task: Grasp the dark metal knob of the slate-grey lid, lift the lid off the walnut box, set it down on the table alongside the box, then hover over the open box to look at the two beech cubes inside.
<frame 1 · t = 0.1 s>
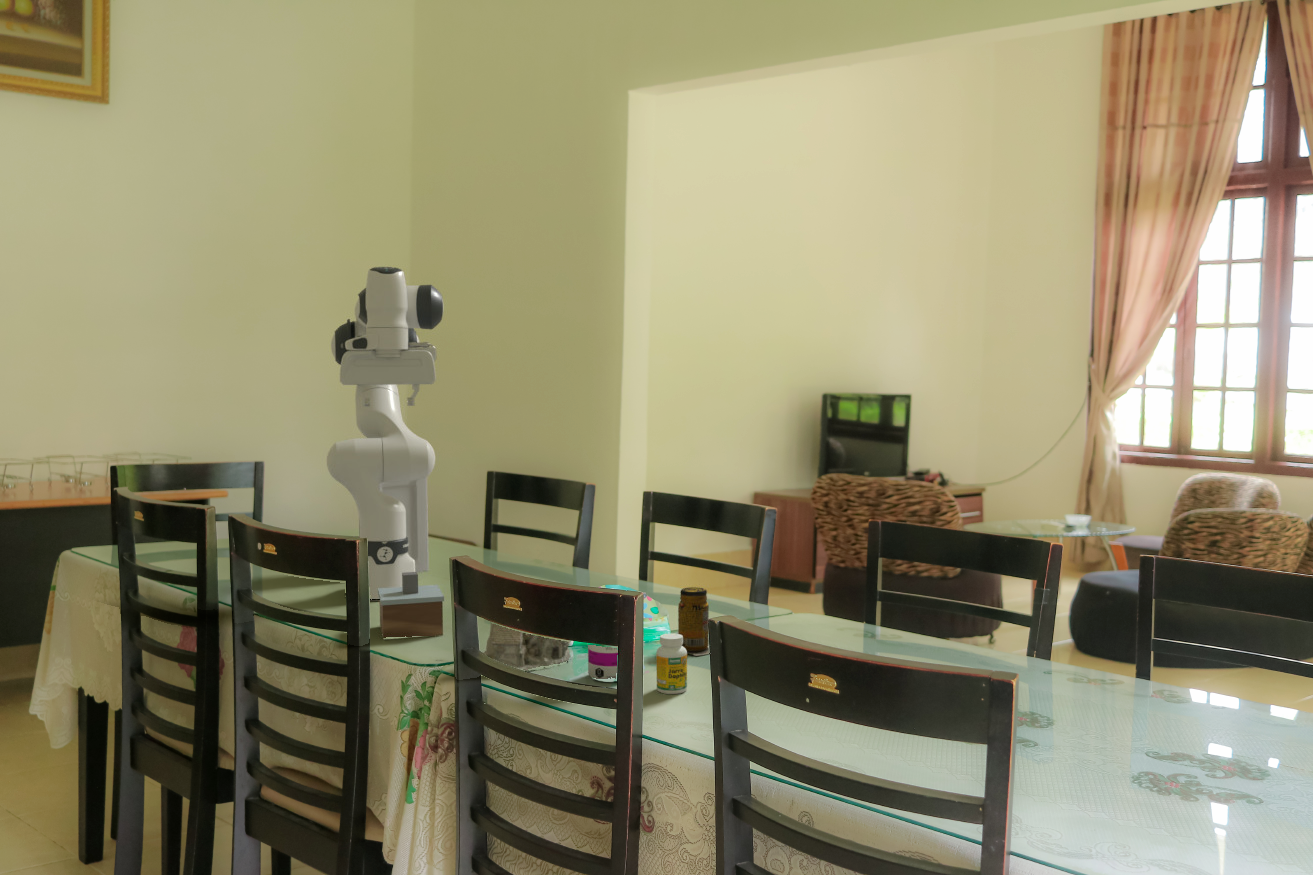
hand: (388, 406, 232), 48 cm above the table, fingers open, 8 cm apart
box: (411, 634, 226), on the table
cube b: (424, 632, 224), point 1 cm above the table, touching box
ceramic cottage: (525, 664, 204), on the table
condiment: (695, 650, 213), on the table
cube a: (397, 628, 227), point 1 cm above the table, touching box
supplement bottle: (671, 691, 186), on the table
lid: (410, 596, 225), point 8 cm above the table, touching box
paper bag: (385, 572, 295), on the table
supplement can: (610, 677, 194), on the table
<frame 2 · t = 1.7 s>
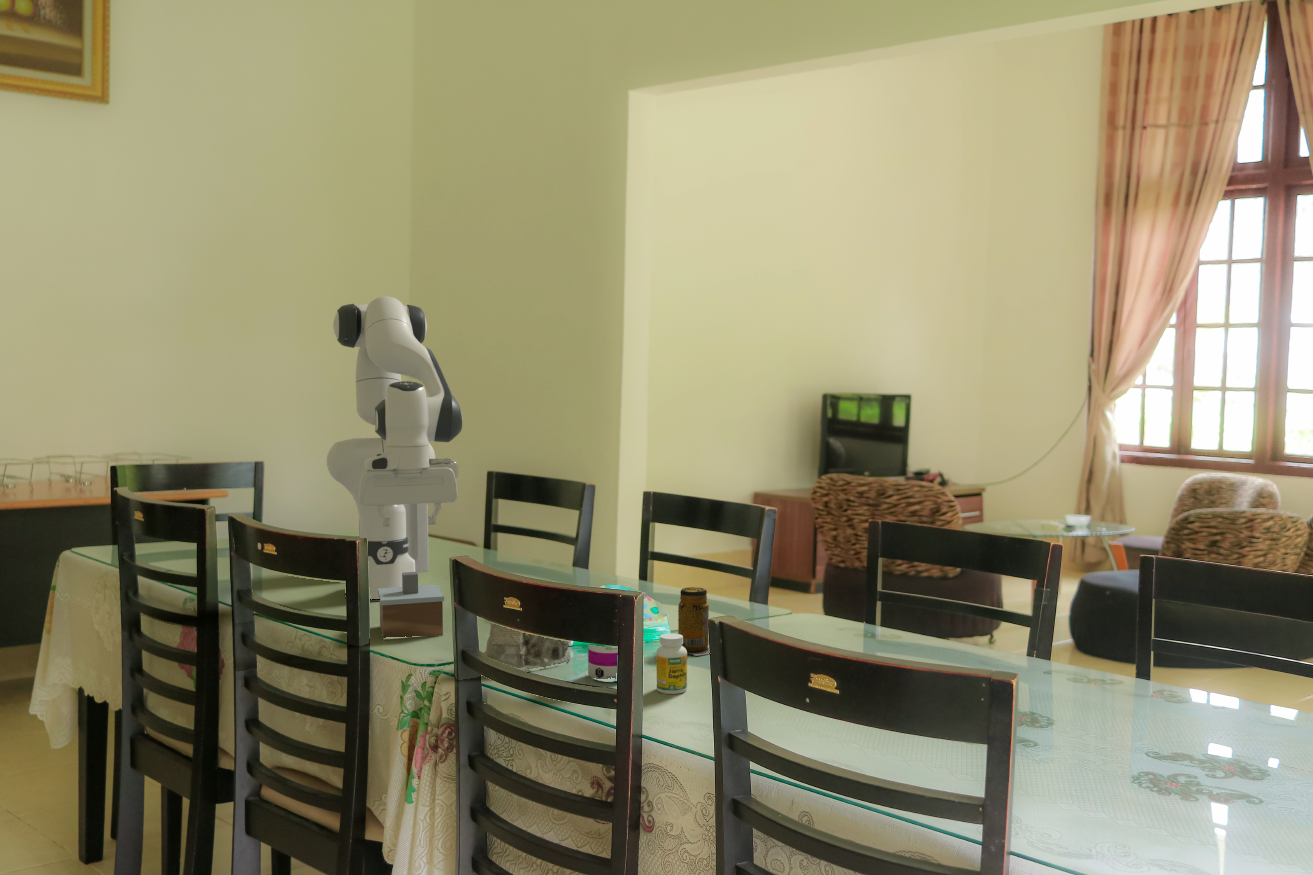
hand: (409, 525, 224), 23 cm above the table, fingers open, 8 cm apart
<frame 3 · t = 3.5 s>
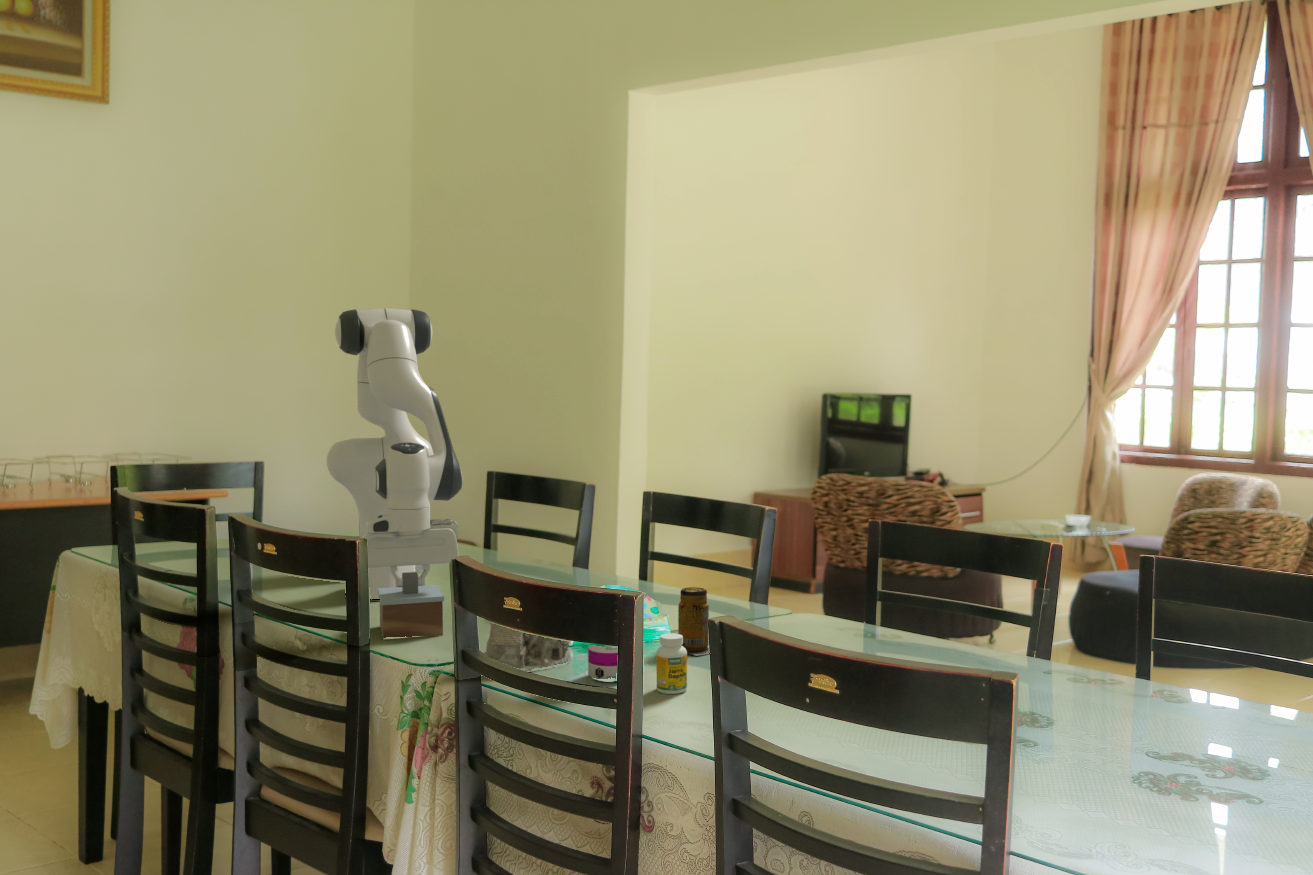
hand: (410, 586, 225), 10 cm above the table, fingers closed on lid, 3 cm apart
lid: (410, 596, 225), point 8 cm above the table, touching box, gripper
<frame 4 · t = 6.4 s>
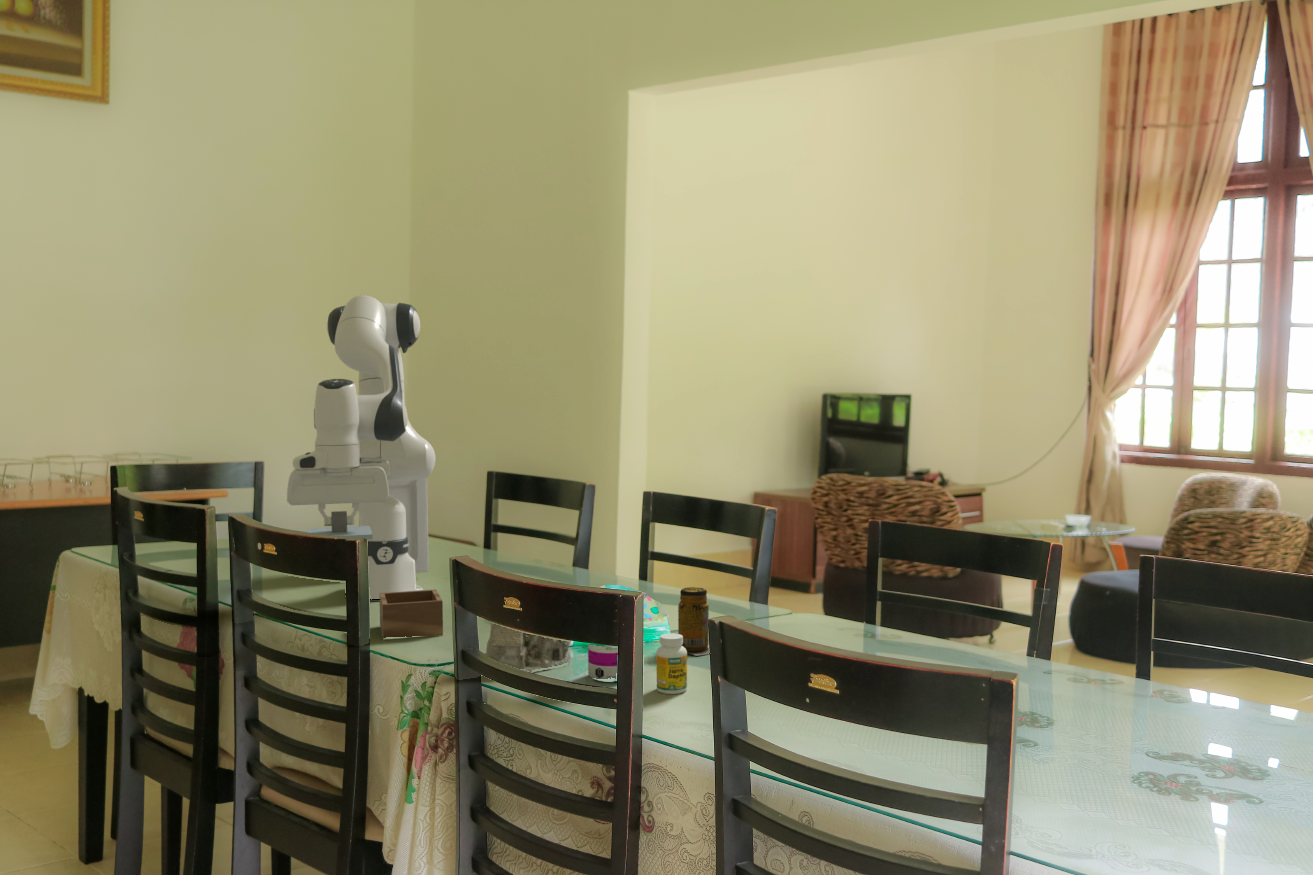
hand: (339, 525, 221), 24 cm above the table, fingers closed on lid, 3 cm apart
lid: (339, 536, 221), point 21 cm above the table, touching gripper
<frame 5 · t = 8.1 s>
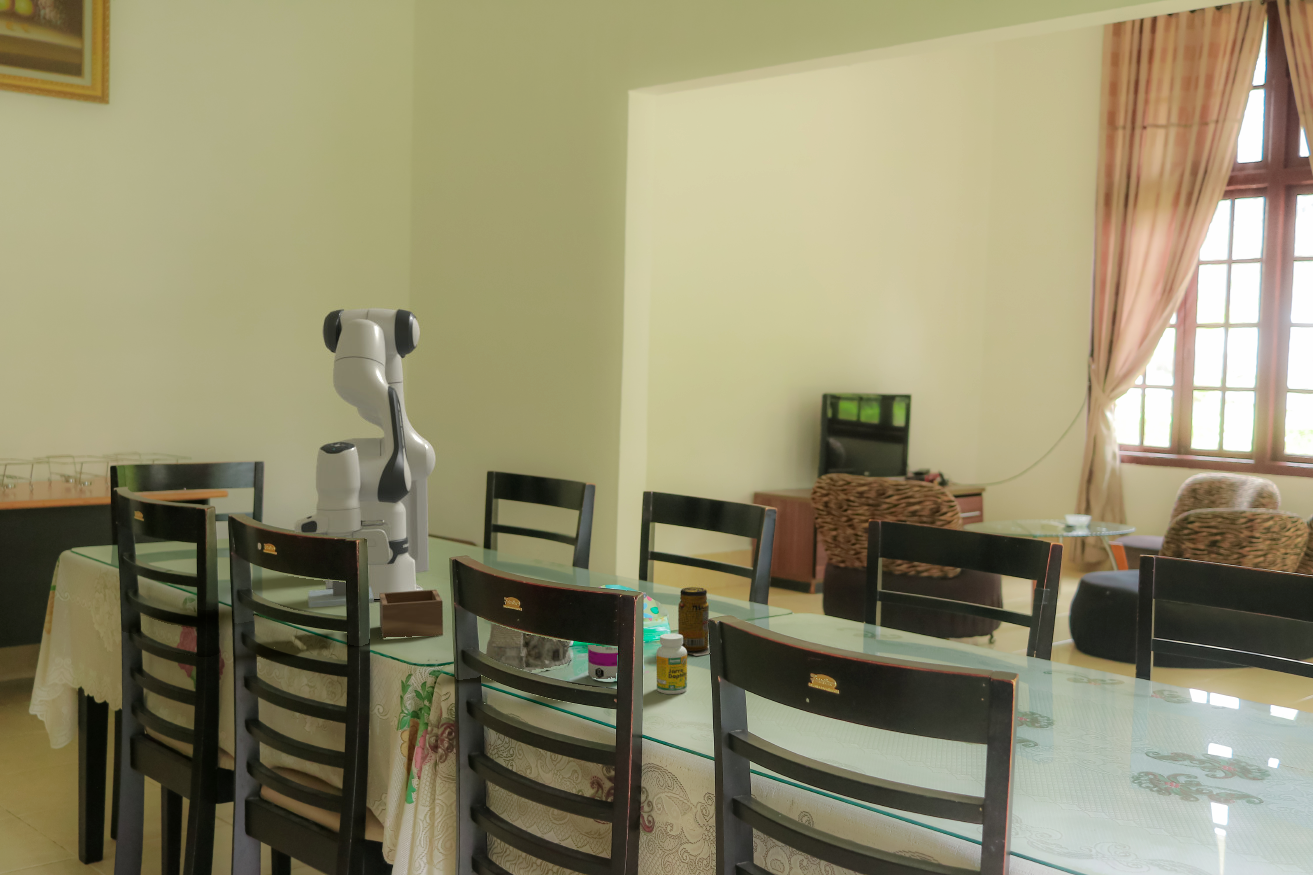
hand: (340, 588, 221), 11 cm above the table, fingers closed on lid, 3 cm apart
lid: (340, 599, 221), point 8 cm above the table, touching gripper
when the fingers open (4 cm above the table, at t = 9.5 s): lid drops 2 cm, on the table.
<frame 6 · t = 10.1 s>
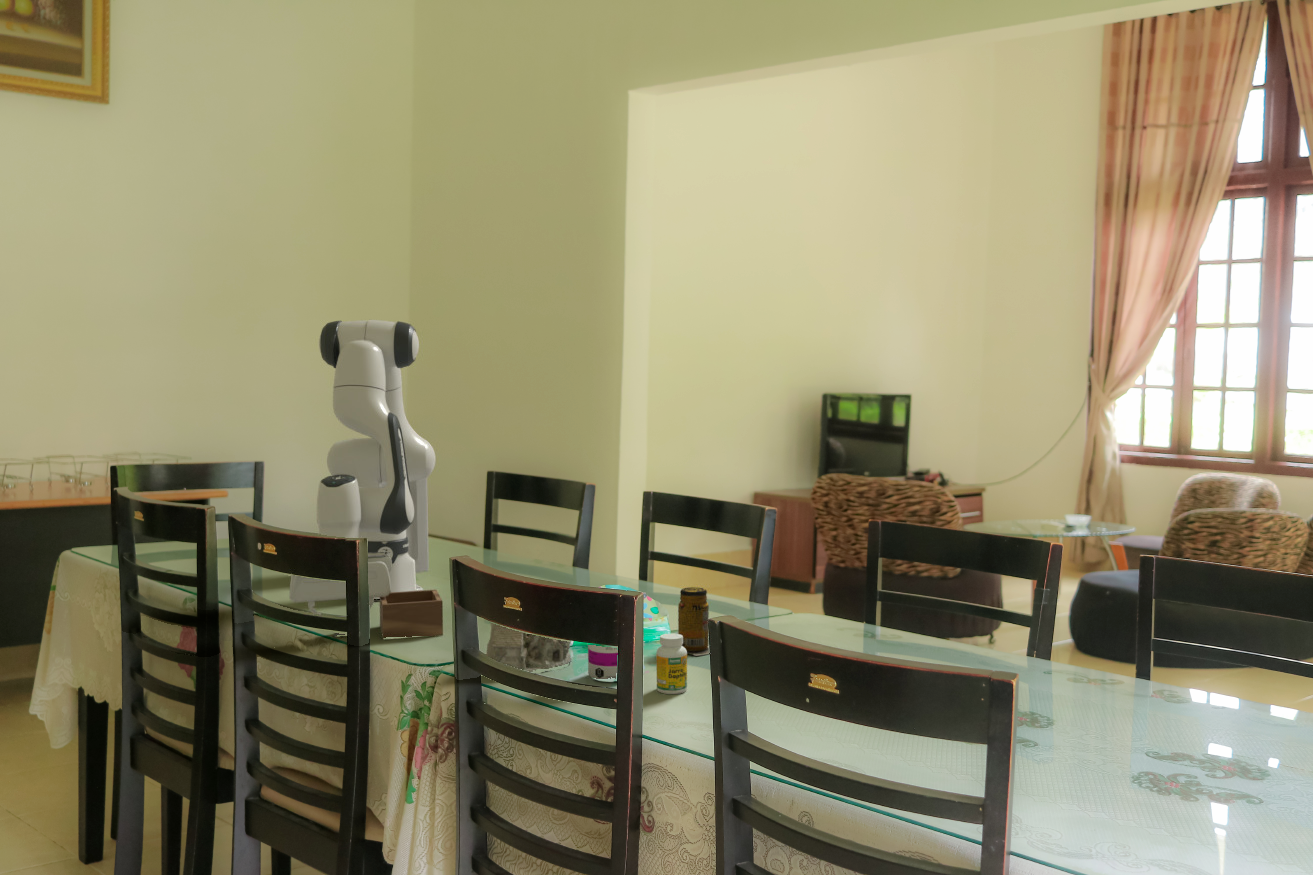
hand: (341, 619, 222), 4 cm above the table, fingers open, 8 cm apart
lid: (342, 641, 222), on the table
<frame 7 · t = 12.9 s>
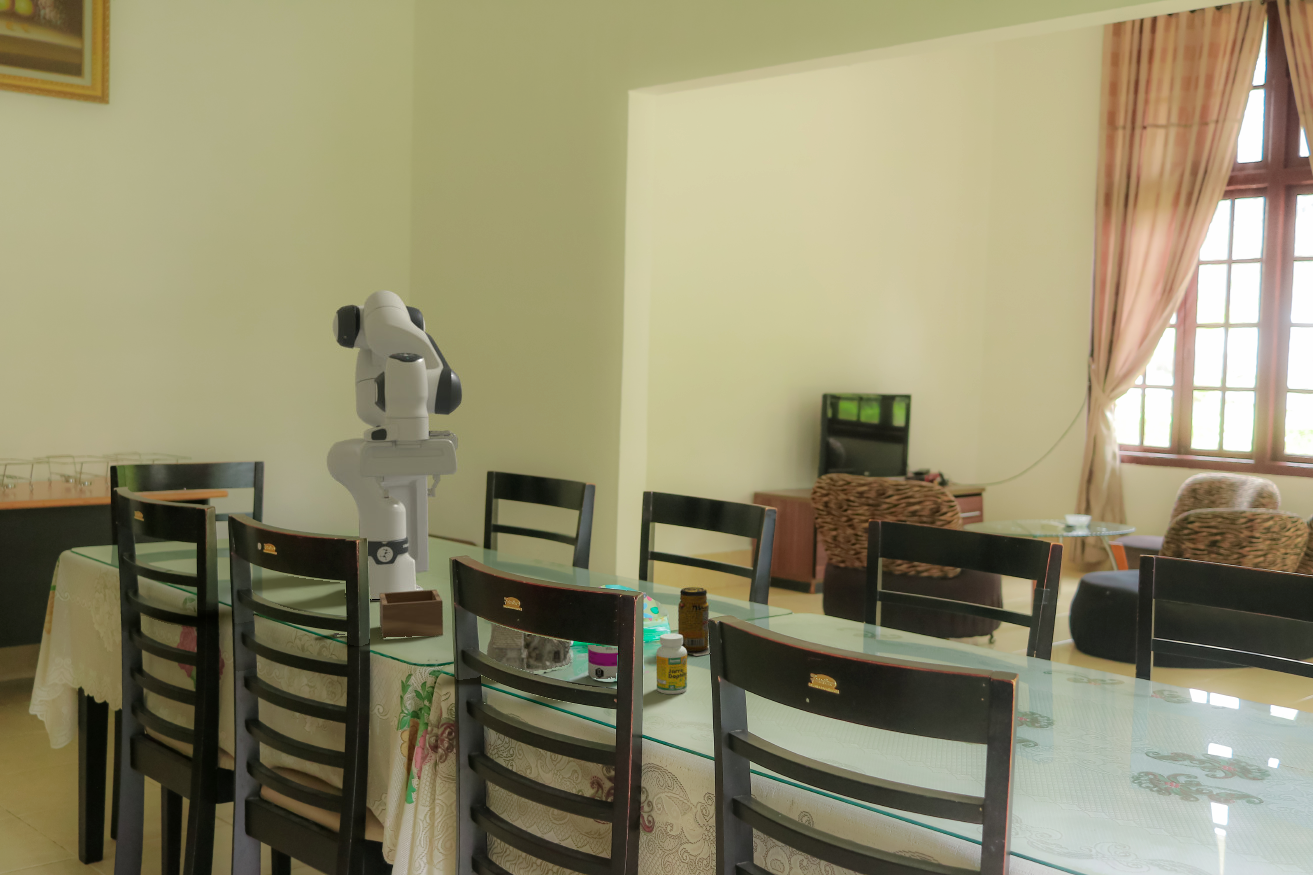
hand: (408, 497, 224), 29 cm above the table, fingers open, 8 cm apart
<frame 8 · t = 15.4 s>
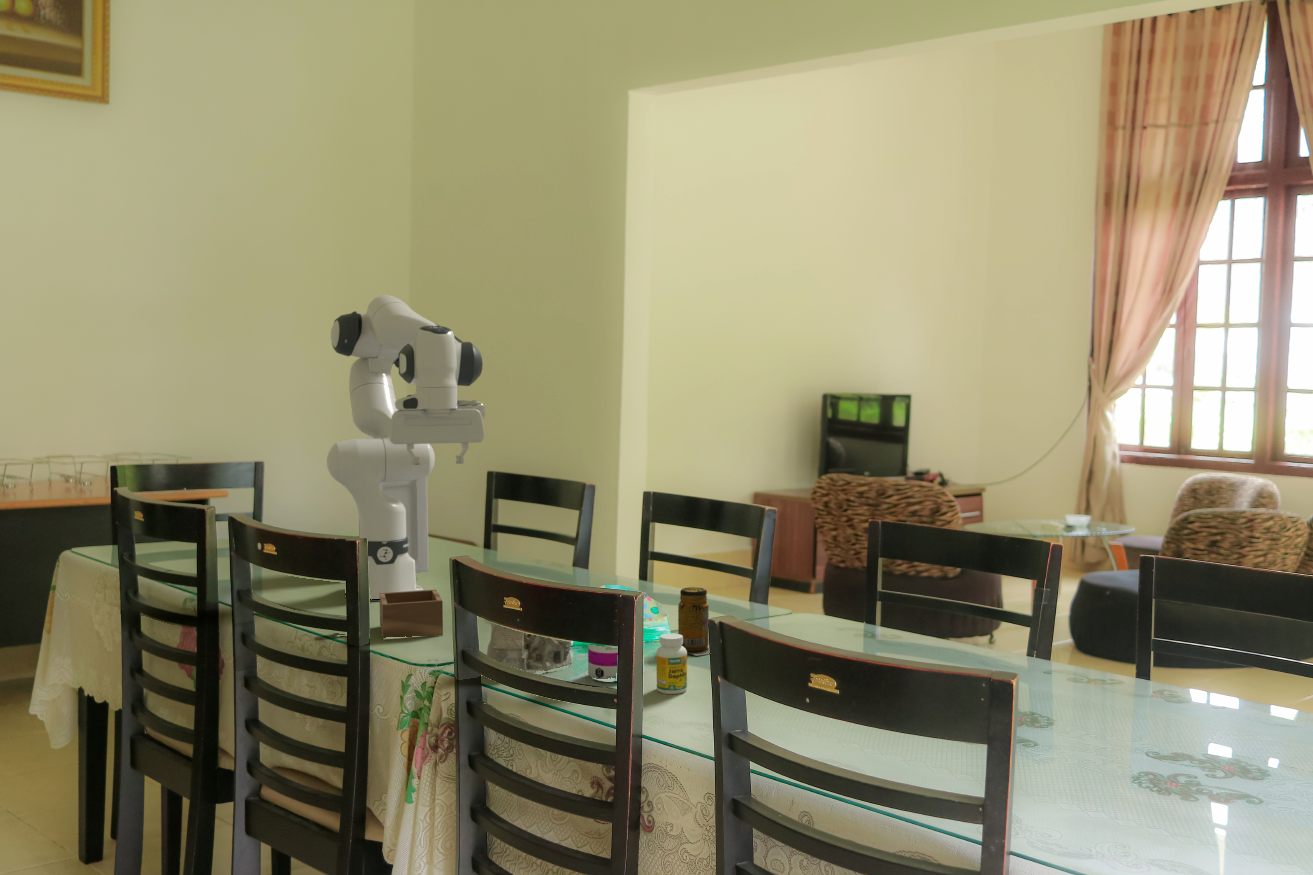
hand: (437, 464, 233), 35 cm above the table, fingers open, 8 cm apart
at the end: lid inside the target area (0.0 cm from its centre), on the table; lid touching table; lid tilted 0° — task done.
